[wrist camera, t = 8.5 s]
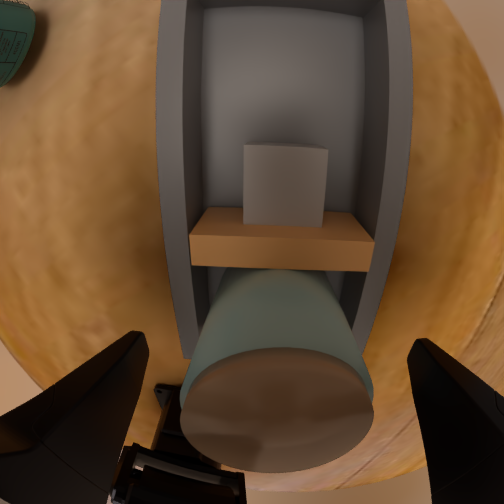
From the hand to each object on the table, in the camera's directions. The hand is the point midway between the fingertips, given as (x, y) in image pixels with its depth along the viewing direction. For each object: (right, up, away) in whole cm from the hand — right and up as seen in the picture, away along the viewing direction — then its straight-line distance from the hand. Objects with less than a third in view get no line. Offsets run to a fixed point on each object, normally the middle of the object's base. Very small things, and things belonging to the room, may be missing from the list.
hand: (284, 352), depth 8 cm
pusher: (0, +6, +4) cm, 7 cm away
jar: (0, +1, +6) cm, 6 cm away
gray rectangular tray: (0, +7, +5) cm, 8 cm away
